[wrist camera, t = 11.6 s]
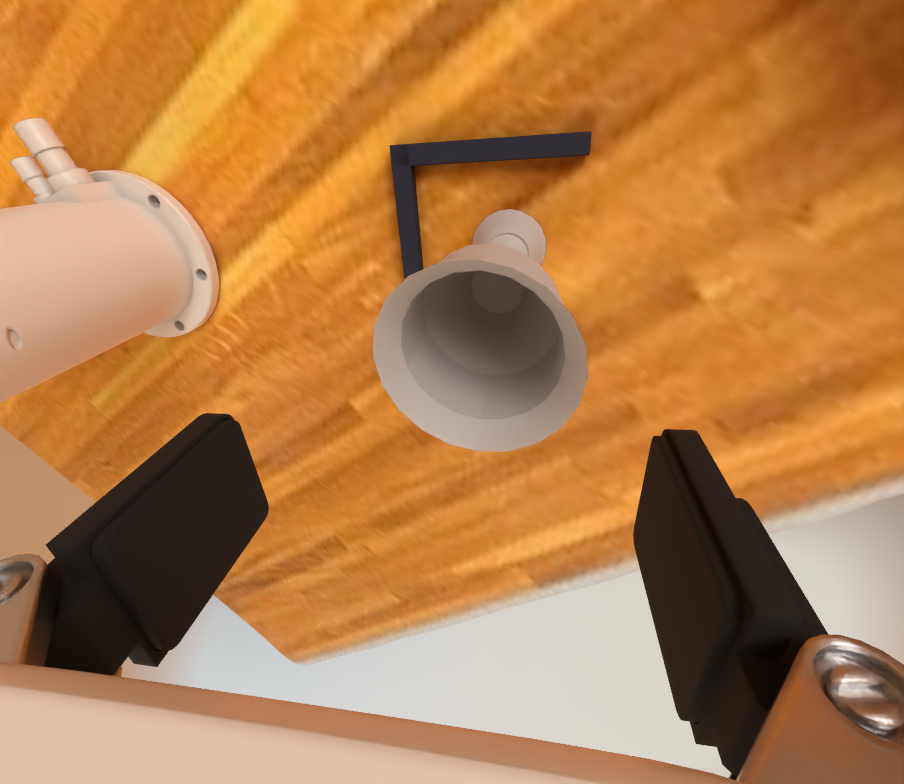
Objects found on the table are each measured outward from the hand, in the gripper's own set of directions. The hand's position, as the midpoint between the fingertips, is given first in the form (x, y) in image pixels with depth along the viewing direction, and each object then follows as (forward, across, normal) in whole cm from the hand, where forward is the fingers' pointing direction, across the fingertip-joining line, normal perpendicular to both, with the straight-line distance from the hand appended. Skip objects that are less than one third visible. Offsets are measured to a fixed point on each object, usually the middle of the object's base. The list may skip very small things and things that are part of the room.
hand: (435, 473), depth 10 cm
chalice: (+24, -1, 0) cm, 24 cm away
